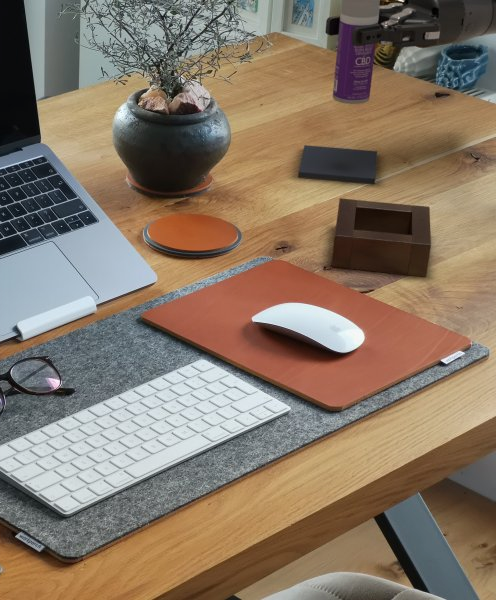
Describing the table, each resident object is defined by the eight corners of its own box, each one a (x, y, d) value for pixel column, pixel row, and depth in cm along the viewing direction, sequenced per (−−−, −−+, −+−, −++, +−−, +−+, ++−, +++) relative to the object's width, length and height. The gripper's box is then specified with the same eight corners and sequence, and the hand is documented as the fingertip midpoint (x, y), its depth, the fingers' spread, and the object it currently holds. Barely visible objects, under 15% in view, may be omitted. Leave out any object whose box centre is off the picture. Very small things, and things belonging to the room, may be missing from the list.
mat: (376, 156, 155) (377, 151, 154) (374, 184, 146) (375, 178, 146) (303, 150, 157) (304, 145, 157) (298, 177, 148) (298, 171, 148)
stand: (424, 237, 133) (429, 206, 131) (425, 277, 124) (431, 244, 122) (336, 228, 135) (339, 198, 133) (331, 266, 126) (334, 235, 124)
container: (354, 106, 141) (367, -13, 133) (324, 97, 144) (335, -20, 137) (376, 98, 144) (390, -20, 136) (347, 89, 147) (359, -26, 139)
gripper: (413, -27, 148) (308, -11, 142) (491, -3, 137) (380, 15, 131) (406, 29, 152) (304, 46, 146) (481, 57, 141) (373, 77, 134)
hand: (341, 32), depth 138 cm, fingers closed on container, 4 cm apart
